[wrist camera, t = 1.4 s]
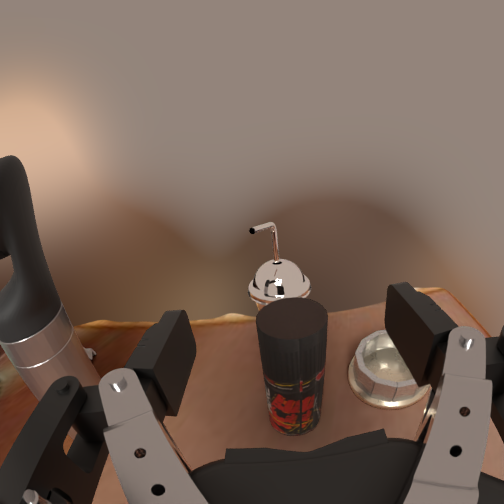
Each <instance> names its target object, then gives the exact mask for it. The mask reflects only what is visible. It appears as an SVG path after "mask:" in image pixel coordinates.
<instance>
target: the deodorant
mask: <svg viewBox="0 0 504 504" xmlns="http://www.w3.org/2000/svg"><path fill="white" fill-rule="evenodd" d="M327 322H328V315H327V312H326V309H325V308H324V307H323V306H322V305H321V304H319V303H318V302H316V301H313V300H311V299H306V298H298V297H292V298H284V299H279V300H276V301H273V302H271V303H269V304H267V305H266V306H264V307H263V308H262V309H261V310H260V311H259V313H258V314H257V316H256V325H257V332H258V340H259V347H260V354H261V361H262V368H263V375H264V382H265V389H266V396H267V403H268V410H269V417H270V422H271V425H272V426H273V427H274V429H275V430H277V431H278V432H279V433H282V434H284V435H289V436H298V435H303V434H306V433H308V432H309V431H311V430H313V429H314V428H315V427H316V426H317V424H318V422H319V419H320V414H321V405H322V395H323V384H324V373H325V359H326V343H327Z"/></svg>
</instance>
